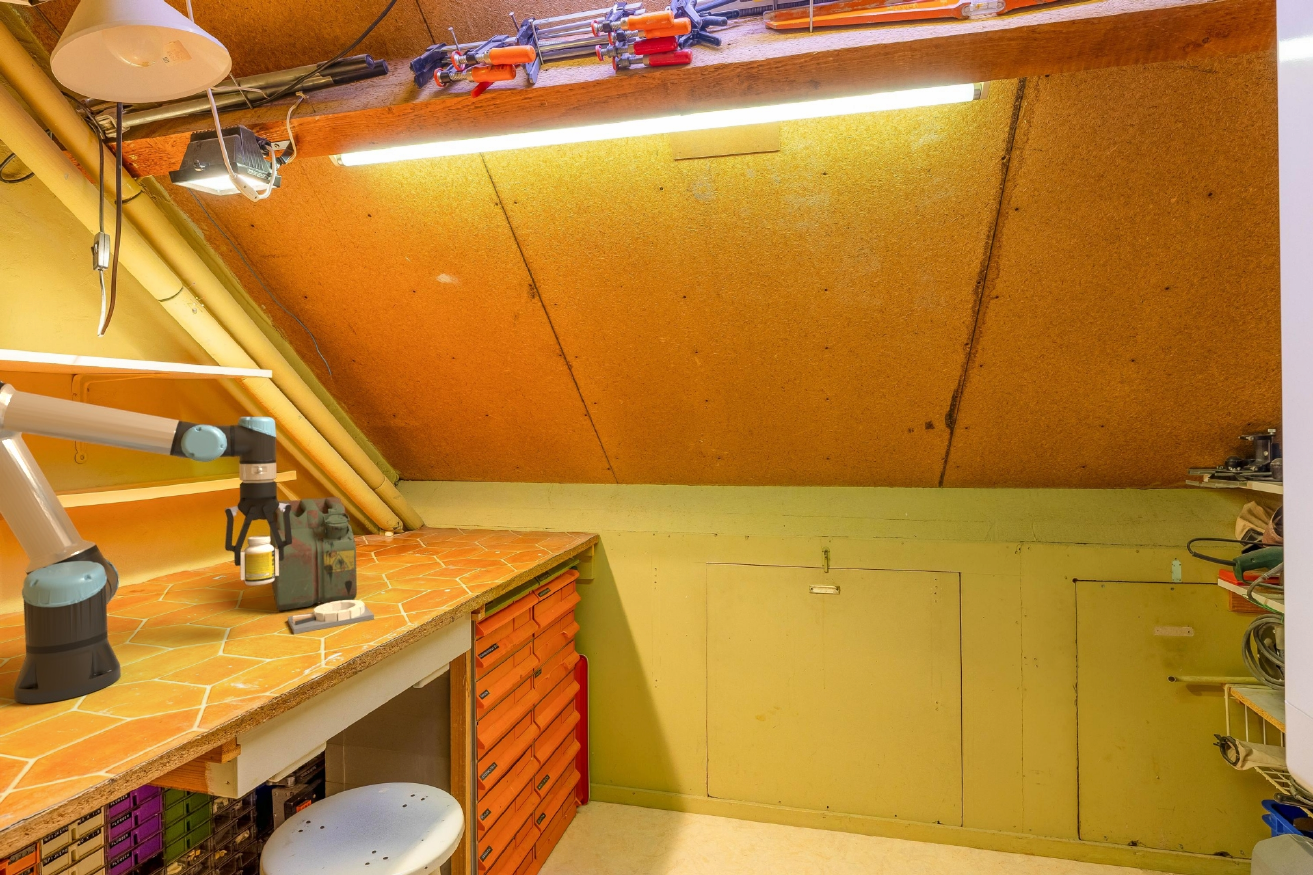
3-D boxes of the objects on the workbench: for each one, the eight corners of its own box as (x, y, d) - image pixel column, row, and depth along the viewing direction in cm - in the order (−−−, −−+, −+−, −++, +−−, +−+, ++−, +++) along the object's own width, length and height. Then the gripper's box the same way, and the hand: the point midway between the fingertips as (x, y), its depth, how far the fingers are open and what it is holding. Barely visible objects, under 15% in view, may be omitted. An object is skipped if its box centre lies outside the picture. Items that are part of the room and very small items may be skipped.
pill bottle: (278, 582, 151) (277, 536, 151) (248, 587, 147) (248, 540, 147) (270, 578, 156) (269, 533, 155) (241, 582, 151) (240, 537, 151)
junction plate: (294, 634, 151) (293, 620, 151) (287, 621, 161) (287, 609, 161) (374, 619, 162) (373, 606, 162) (363, 608, 172) (363, 596, 172)
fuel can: (277, 615, 166) (274, 513, 165) (271, 586, 195) (269, 499, 194) (357, 603, 177) (355, 507, 176) (340, 577, 206) (338, 494, 205)
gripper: (209, 484, 142) (211, 586, 142) (306, 480, 153) (307, 574, 154) (208, 482, 148) (210, 579, 148) (301, 477, 159) (302, 568, 160)
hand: (259, 576), depth 151 cm, fingers closed on pill bottle, 6 cm apart
